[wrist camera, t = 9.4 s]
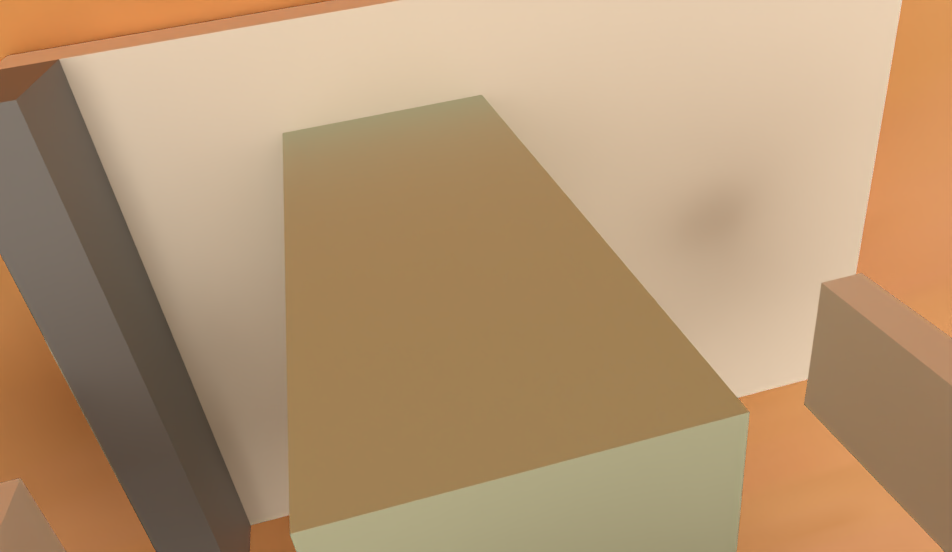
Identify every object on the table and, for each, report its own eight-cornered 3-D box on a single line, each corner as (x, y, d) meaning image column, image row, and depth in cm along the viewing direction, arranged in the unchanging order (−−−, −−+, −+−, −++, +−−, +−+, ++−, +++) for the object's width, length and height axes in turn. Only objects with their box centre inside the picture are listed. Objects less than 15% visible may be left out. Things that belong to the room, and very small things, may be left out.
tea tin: (274, 134, 14) (270, 539, 6) (481, 94, 15) (749, 411, 6) (358, 438, 18) (426, 931, 10) (518, 398, 19) (710, 834, 11)
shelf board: (199, 504, 20) (185, 626, 17) (-4, 57, 14) (-87, 118, 11) (813, 347, 22) (901, 428, 19) (876, -93, 16) (1020, -80, 13)
